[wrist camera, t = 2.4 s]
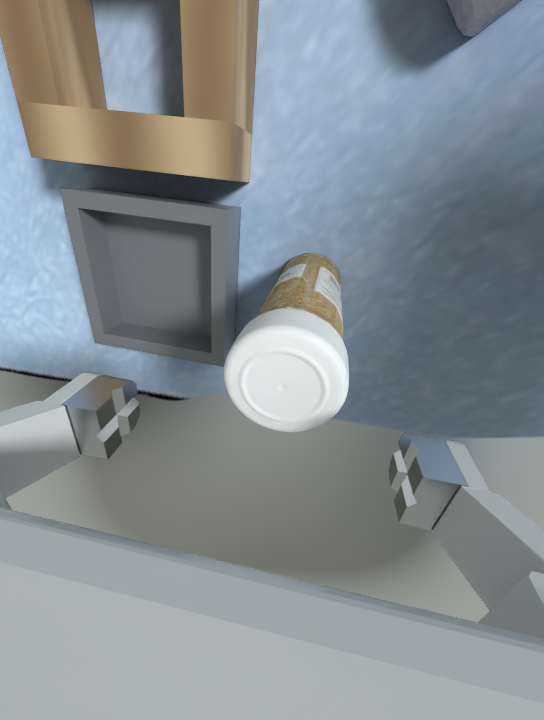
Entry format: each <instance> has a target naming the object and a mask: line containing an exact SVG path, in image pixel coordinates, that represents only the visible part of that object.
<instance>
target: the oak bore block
mask: <svg viewBox="0 0 544 720" xmlns="http://www.w3.org/2000/svg"><path fill="white" fill-rule="evenodd" d="M258 10H259V0H180V17H181V43H182V69H183V94H184V117H177V116H166V115H156V114H145V113H135V112H124V111H113V110H107V107H106V100H105V93H104V86H103V79H102V71H101V64H100V57H99V50H98V43H97V36H96V29H95V22H94V15H93V8H92V1H91V0H0V37H1V41H2V45H3V49H4V53H5V57H6V60H7V64H8V68H9V72H10V76H11V80H12V84H13V88H14V91H15V95H16V99H17V103H18V107H19V111H20V115H21V119H22V123H23V126H24V130H25V134H26V138H27V142H28V146H29V150H30V154H31V157H33V158H42V159H50V160H59V161H67V162H76V163H84V164H93V165H101V166H110V167H119V168H127V169H136V170H144V171H153V172H161V173H170V174H178V175H187V176H195V177H204V178H213V179H221V180H230V181H239V182H249V180H250V161H251V143H252V124H253V105H254V86H255V67H256V48H257V29H258Z"/></svg>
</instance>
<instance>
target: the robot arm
mask: <svg viewBox="0 0 544 720" xmlns="http://www.w3.org/2000/svg"><path fill="white" fill-rule="evenodd" d="M136 394H137V387H136V383H134V382H133V381H130V380H126V379H121V378H116V377H112V376H107V375H101V374H96V373H92V372H85V373H82V374H80V375H79V376H77V377H76V378H75V379H73V380H72V381H71V382H69V383H68V384H67V385H65V386H64V387H62V388H61V389H59V390H58V391H57V392H55V393H54V394H52V395H51V396H50V397H48V398H47V399H45V400H44V401H34V402H31V403H28V404H24V405H21V406H18V407H15V408H11V409H8V410H5V411H1V412H0V720H544V531H542V530H541V529H540V528H539V527H538V526H536V525H535V524H534V523H533V522H531V521H530V520H529V519H528V518H527V517H525V516H524V515H523V514H522V513H521V512H519V511H518V510H517V509H516V508H514V507H513V506H512V505H511V504H509V503H508V502H507V501H506V500H505V499H504V498H502V497H501V496H500V495H499V494H497V493H495V492H490V490H489V488H488V486H487V485H486V483H485V481H484V479H483V477H482V475H481V473H480V472H479V470H478V468H477V466H476V465H475V463H474V461H473V459H472V457H471V455H470V453H469V452H468V450H467V448H466V446H465V445H464V444H463V443H462V442H459V441H452V440H447V439H438V438H433V437H427V436H422V435H416V434H411V433H406V432H404V434H403V435H402V436H401V438H400V440H399V446H400V450H399V451H397V452H395V453H394V454H393V457H392V459H391V462H390V468H389V478H390V484H391V487H392V488H393V489H394V490H395V491H396V493H397V495H396V497H395V499H394V503H395V508H396V512H397V517H398V521H399V523H403V524H407V525H410V526H414V527H419V528H422V529H427V530H431V531H432V534H433V535H434V536H435V538H436V539H437V540H438V542H439V543H440V544H441V546H442V547H443V548H444V550H445V551H446V552H447V554H448V555H449V557H450V558H451V559H452V561H453V562H454V563H455V565H456V566H457V567H458V569H459V570H460V571H461V573H462V574H463V575H464V577H465V578H466V579H467V581H468V582H469V583H470V585H471V586H472V587H473V589H474V590H475V591H476V593H477V594H478V595H479V597H480V598H481V599H482V601H483V602H484V604H485V605H486V606H487V608H488V609H489V610H490V611H489V612H488V613H487V614H486V615H485V616H484V617H483V618H482V619H481V620H480V621H479V622H478V623H477V622H473V621H469V620H464V619H461V618H457V617H452V616H448V615H444V614H440V613H436V612H432V611H427V610H423V609H419V608H415V607H411V606H407V605H403V604H399V603H394V602H390V601H386V600H382V599H378V598H373V597H370V596H365V595H361V594H357V593H353V592H349V591H345V590H340V589H336V588H332V587H328V586H324V585H320V584H316V583H311V582H307V581H303V580H299V579H295V578H291V577H287V576H283V575H279V574H274V573H270V572H266V571H262V570H257V569H253V568H250V567H245V566H241V565H237V564H233V563H229V562H225V561H221V560H216V559H212V558H208V557H204V556H200V555H195V554H191V553H187V552H183V551H179V550H174V549H171V548H166V547H162V546H158V545H154V544H150V543H146V542H141V541H137V540H133V539H129V538H125V537H121V536H117V535H112V534H108V533H104V532H100V531H96V530H92V529H87V528H83V527H79V526H75V525H71V524H67V523H63V522H59V521H54V520H50V519H46V518H42V517H38V516H34V515H30V514H26V513H21V512H17V511H13V510H12V509H11V507H10V505H9V504H8V502H7V500H6V498H7V497H9V496H11V495H12V494H14V493H16V492H18V491H19V490H21V489H23V488H25V487H26V486H28V485H30V484H32V483H34V482H35V481H37V480H39V479H41V478H42V477H44V476H46V475H48V474H49V473H51V472H53V471H55V470H57V469H58V468H60V467H62V466H64V465H65V464H67V463H69V462H71V461H72V460H74V459H76V458H78V457H80V455H85V456H91V457H96V458H102V459H109V458H110V456H111V455H112V454H113V453H114V452H115V450H116V449H117V448H118V447H119V446H120V444H121V443H122V439H121V437H122V436H124V435H126V434H129V433H130V432H131V431H132V430H133V429H134V428H135V426H136V424H137V422H138V419H139V417H140V405H139V403H138V401H137V400H136V399H135V398H134V396H135V395H136Z"/></svg>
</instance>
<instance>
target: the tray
mask: <svg viewBox="0 0 544 720" xmlns="http://www.w3.org/2000/svg"><path fill="white" fill-rule="evenodd" d="M60 192H61V196H62V200H63V205H64V209H65V214H66V218H67V222H68V227H69V231H70V236H71V240H72V244H73V249H74V253H75V257H76V262H77V266H78V271H79V275H80V279H81V284H82V288H83V293H84V297H85V301H86V306H87V310H88V315H89V319H90V323H91V328H92V332H93V336H94V341H95V343H100V344H106V345H111V346H116V347H122V348H127V349H132V350H138V351H143V352H148V353H154V354H159V355H164V356H170V357H175V358H180V359H186V360H191V361H196V362H201V363H207V364H212V365H217V366H223V367H224V364H225V360H226V357H227V355H228V353H229V351H230V349H231V347H232V345H233V344H234V342H235V336H236V312H237V288H238V264H239V240H240V216H241V207H234V206H226V205H219V204H211V203H203V202H195V201H187V200H179V199H171V198H163V197H155V196H147V195H140V194H132V193H124V192H116V191H108V190H100V189H86V188H60Z"/></svg>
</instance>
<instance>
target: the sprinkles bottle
mask: <svg viewBox="0 0 544 720" xmlns="http://www.w3.org/2000/svg"><path fill="white" fill-rule="evenodd" d="M342 336H343V316H342V298H341V277H340V273H339V271H338V270H337V268H336V266H335V265H334V263H332V262H331V261H330V260H329V259H328V258H327V257H324V256H322V255H319V254H316V253H307V254H302V255H300V256H297V257H295V258H293V259H292V260H291V261H289V263H288V264H287V265H286V266H285V267H284V269H283V271H282V273H281V275H280V277H279V279H278V280H277V282H276V284H275V285H274V287H273V289H272V290H271V292H270V294H269V295H268V297H267V299H266V300H265V302H264V304H263V306H262V307H261V310H260V312H259V314H258V315H257V317H256V318H254V319H253V320H251V321H250V322H249V323H248V324H247V325H246V326H245V327H244V329H243V330H242V331H241V333H240V334H239V335H238V337H237V338H236V340H235V342H234V344H233V345H232V347H231V349H230V351H229V353H228V355H227V357H226V360H225V364H224V382H225V386H226V390H227V392H228V394H229V397H230V398H231V400H232V402H233V403H234V405H235V406H236V407H237V408H238V409H239V410H240V411H241V412H242V413H243V414H244V415H245V416H246V417H248V418H249V419H250V420H252V421H254V422H255V423H257V424H259V425H261V426H264V427H266V428H269V429H272V430H276V431H282V432H301V431H306V430H311V429H314V428H316V427H319V426H321V425H323V424H325V423H326V422H327V421H329V420H330V419H332V418H333V417H334V416H335V415H336V414H337V413H338V411H339V410H340V409H341V407H342V405H343V404H344V402H345V400H346V397H347V393H348V387H349V364H348V355H347V350H346V347H345V345H344V342H343V340H342Z"/></svg>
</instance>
